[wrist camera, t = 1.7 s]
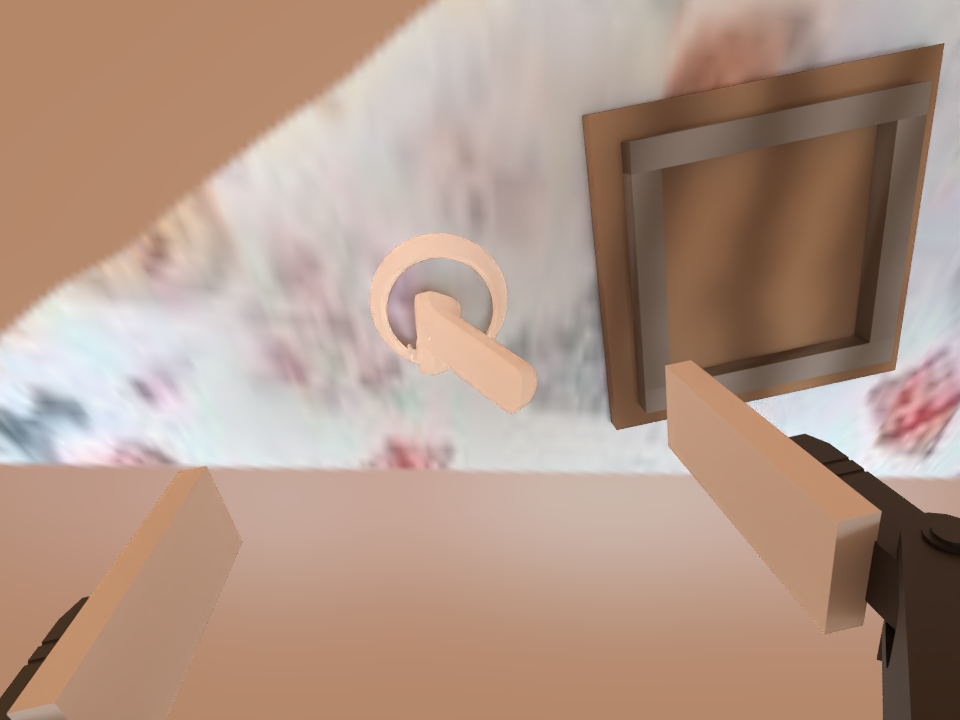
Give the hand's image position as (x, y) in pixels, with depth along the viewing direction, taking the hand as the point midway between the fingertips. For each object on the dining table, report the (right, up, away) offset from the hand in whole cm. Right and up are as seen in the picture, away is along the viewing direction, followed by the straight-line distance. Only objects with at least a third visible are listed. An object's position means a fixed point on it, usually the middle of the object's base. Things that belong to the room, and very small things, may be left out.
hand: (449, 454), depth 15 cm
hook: (-1, +6, +14) cm, 16 cm away
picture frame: (+16, +9, +15) cm, 24 cm away
